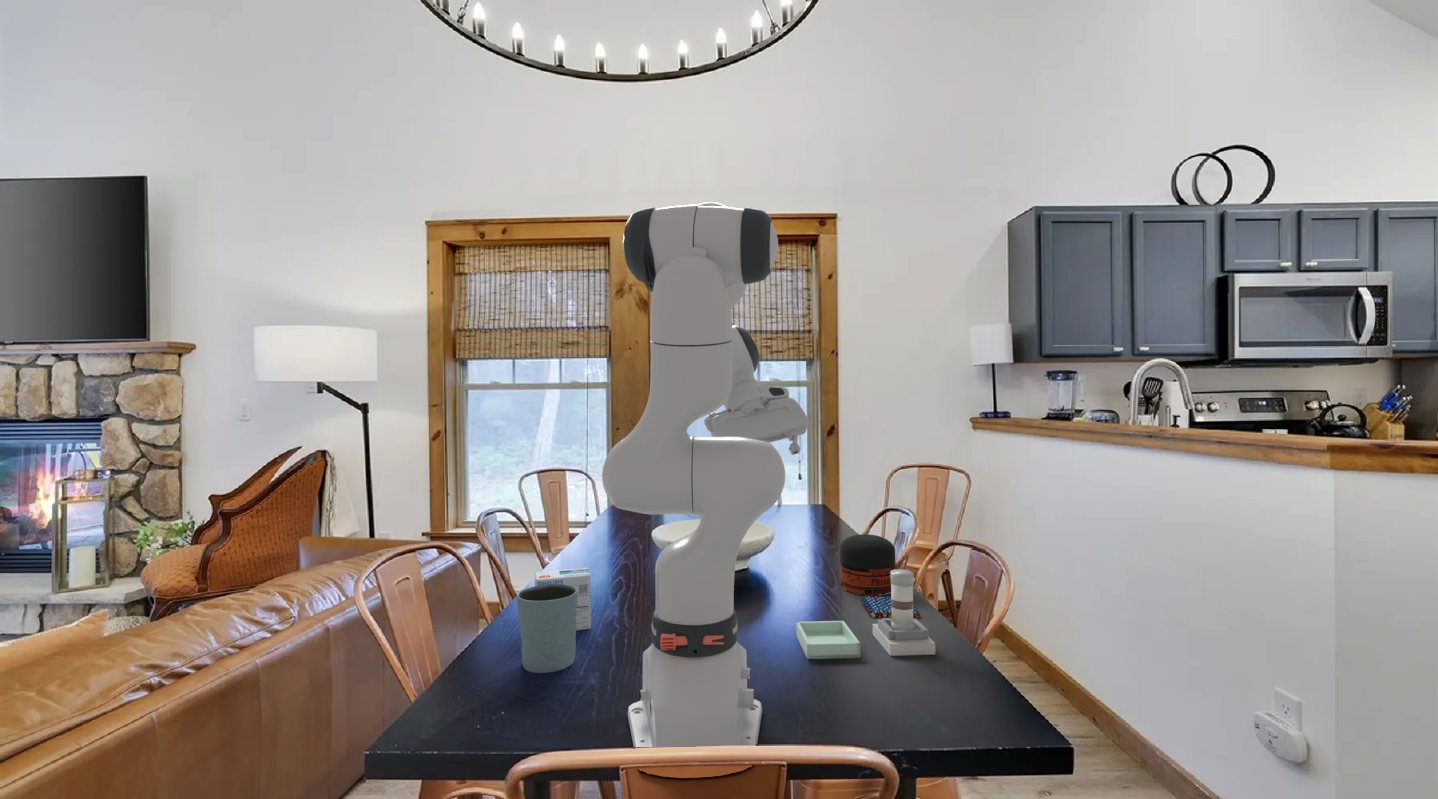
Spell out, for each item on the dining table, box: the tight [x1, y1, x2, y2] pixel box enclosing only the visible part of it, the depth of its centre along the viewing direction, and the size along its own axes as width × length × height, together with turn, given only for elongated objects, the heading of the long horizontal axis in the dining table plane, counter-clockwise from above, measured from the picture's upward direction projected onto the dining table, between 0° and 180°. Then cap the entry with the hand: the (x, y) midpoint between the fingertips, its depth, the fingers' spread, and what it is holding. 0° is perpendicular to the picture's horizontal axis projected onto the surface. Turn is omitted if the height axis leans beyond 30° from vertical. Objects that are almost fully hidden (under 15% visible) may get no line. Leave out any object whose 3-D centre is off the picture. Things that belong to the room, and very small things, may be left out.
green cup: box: [516, 584, 578, 674], centre depth 103 cm, size 10×10×12 cm
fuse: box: [890, 568, 914, 630], centre depth 110 cm, size 4×4×11 cm
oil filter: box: [839, 533, 896, 596], centre depth 145 cm, size 13×12×13 cm
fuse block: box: [872, 617, 936, 657], centre depth 110 cm, size 10×8×4 cm
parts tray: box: [795, 620, 861, 660], centre depth 109 cm, size 11×9×2 cm
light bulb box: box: [534, 567, 592, 631], centre depth 120 cm, size 11×7×11 cm, turn 108°
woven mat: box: [860, 595, 921, 618], centre depth 129 cm, size 10×11×2 cm
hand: (775, 458), depth 118 cm, fingers open, 8 cm apart
